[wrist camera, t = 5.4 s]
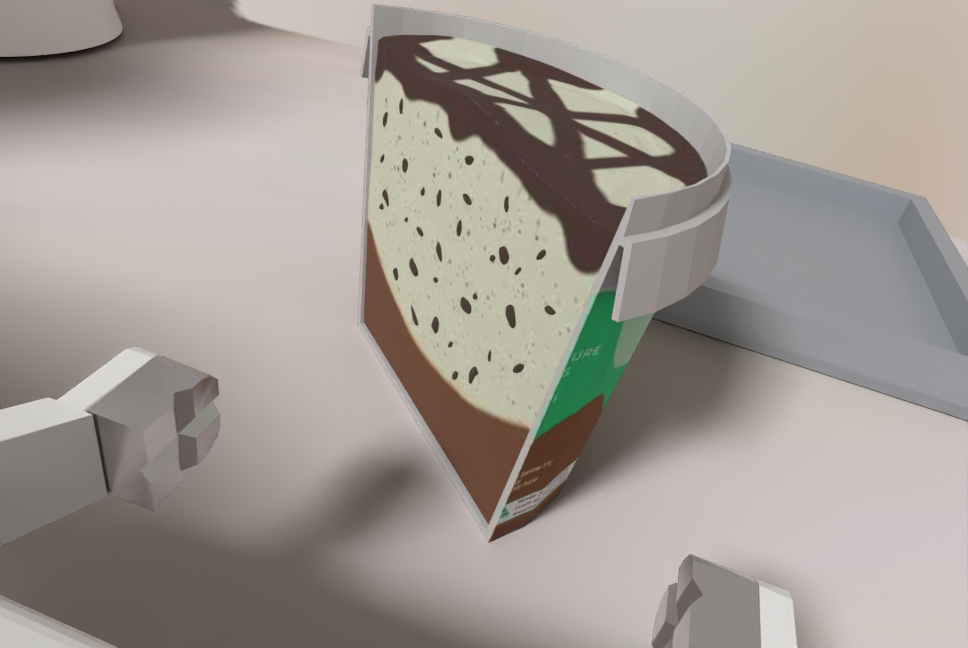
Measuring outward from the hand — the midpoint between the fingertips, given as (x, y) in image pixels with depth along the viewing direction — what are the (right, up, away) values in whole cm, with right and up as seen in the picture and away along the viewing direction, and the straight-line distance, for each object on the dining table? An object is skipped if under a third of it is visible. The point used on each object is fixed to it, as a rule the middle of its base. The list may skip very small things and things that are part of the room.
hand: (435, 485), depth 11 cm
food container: (+1, 0, +11) cm, 11 cm away
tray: (+16, +6, +23) cm, 28 cm away
